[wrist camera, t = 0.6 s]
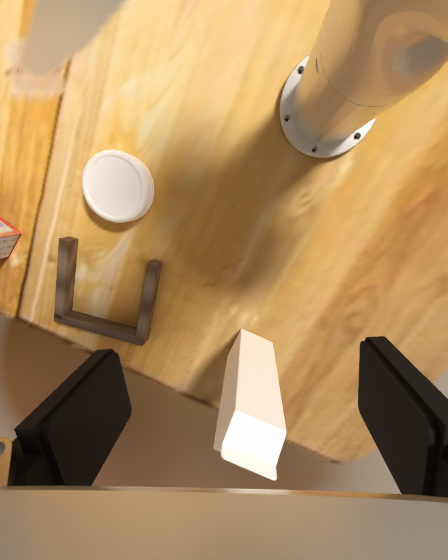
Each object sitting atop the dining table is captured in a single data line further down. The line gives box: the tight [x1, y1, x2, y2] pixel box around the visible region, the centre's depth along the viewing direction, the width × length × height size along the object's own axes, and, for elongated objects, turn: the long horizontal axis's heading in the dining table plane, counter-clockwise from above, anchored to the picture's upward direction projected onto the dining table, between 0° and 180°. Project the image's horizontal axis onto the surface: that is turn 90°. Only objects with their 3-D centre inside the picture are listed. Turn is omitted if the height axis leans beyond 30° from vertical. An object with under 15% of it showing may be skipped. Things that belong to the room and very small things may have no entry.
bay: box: [54, 237, 162, 346], centre depth 45 cm, size 15×16×2 cm
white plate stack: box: [82, 150, 155, 223], centre depth 39 cm, size 10×10×4 cm
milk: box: [214, 329, 286, 480], centre depth 36 cm, size 6×6×22 cm
